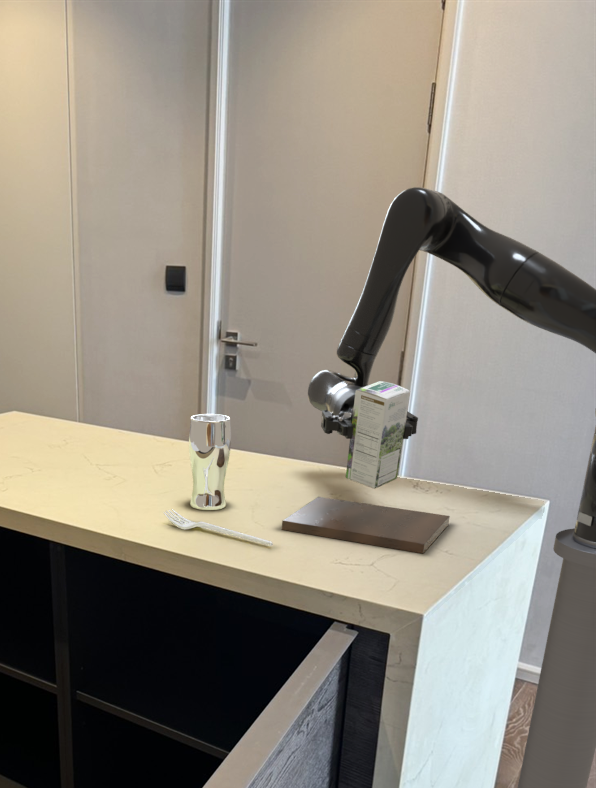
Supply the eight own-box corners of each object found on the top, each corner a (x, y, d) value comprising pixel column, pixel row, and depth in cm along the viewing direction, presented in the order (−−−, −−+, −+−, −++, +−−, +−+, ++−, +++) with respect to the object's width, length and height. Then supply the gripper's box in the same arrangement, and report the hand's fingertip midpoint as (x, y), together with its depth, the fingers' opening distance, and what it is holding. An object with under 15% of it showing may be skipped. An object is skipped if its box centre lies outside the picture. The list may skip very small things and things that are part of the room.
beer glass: (206, 497, 152) (208, 412, 146) (236, 505, 148) (240, 417, 142) (179, 505, 148) (180, 417, 142) (209, 513, 143) (212, 423, 137)
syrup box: (368, 468, 137) (378, 378, 129) (399, 479, 133) (411, 388, 125) (344, 478, 134) (353, 388, 126) (375, 490, 130) (386, 397, 122)
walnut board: (448, 524, 138) (449, 515, 137) (423, 553, 125) (424, 543, 125) (317, 504, 148) (318, 496, 148) (281, 529, 135) (282, 520, 135)
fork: (265, 550, 126) (266, 538, 126) (160, 523, 138) (160, 512, 138) (277, 545, 129) (278, 533, 128) (173, 519, 141) (173, 507, 140)
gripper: (314, 388, 142) (333, 406, 127) (401, 388, 142) (430, 407, 127) (311, 433, 145) (328, 456, 130) (396, 433, 145) (423, 457, 130)
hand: (378, 432), depth 129 cm, fingers closed on syrup box, 8 cm apart
